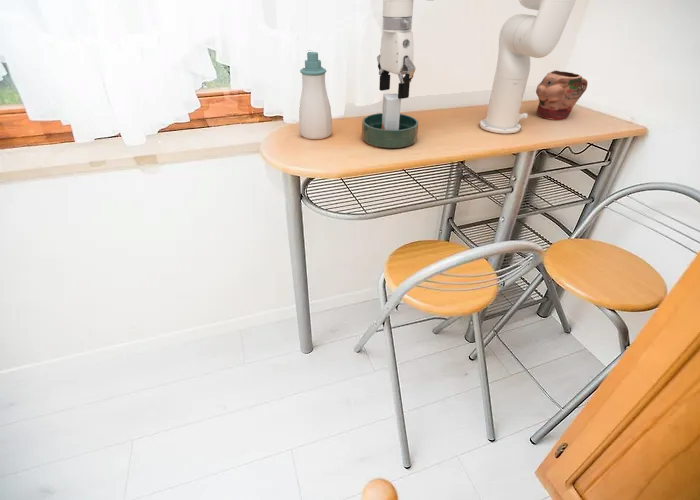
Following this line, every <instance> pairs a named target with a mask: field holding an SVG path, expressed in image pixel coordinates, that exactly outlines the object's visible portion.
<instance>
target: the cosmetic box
mask: <svg viewBox="0 0 700 500" xmlns="http://www.w3.org/2000/svg"><path fill="white" fill-rule="evenodd" d="M401 103H402V99H399V98H398V93H383V95H382V111H381V113H382V129H383V130H399V119H400V114H401V106H402V105H401Z"/></svg>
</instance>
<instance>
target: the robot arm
mask: <svg viewBox="0 0 700 500" xmlns="http://www.w3.org/2000/svg"><path fill="white" fill-rule="evenodd" d="M430 1H433V0H427V2H430ZM518 1H519V3H520V5H521V6H522V7H524V8H526V9H529V10H534V11H537V13H536V15H534V14H533V15H532V14H525V13H520V14H515V15H512V16H511V17H509V18H508V19H506V21H505V22H503V24H502V26H501V29H500V31H499V35H498V55H497V62H496V69H495V72H494V78H493V81H492V87H491V91H490V97H489V100H488V101H489V102H488V106H487V107H488V108H487V111H486V112H487V113H486V117H485V118H484V119H481V120H480V121H479V127H480V128H481V129H483V130H484V131H487V132H490V133H495V134H502V135H503V134H507V135H509V134H515V133H518V132H520V131H521V128H522V126H521V124H520V123H519V122H520V121H521V120H526V119H527V118H528V117H529V114H528V113H527V112H522V113H521V112H520V111H521V107H522V104H523V99H524V94H525V91H526V87H527V83H528V80H529V79H528V78H529V75H530V70H531V58H535V59H542V58H544V57H547V56H548V55H550V54H551V53H552V52H553V51H554V49H555V48H556V47H557V45H558V43H559V41H560V40H561V37H562V35H563V32H564V30H565V27H566V26H567V23H568V21H569V18H570V16H571V13H572V11H573V8H574V7H575V5H576V1H577V0H518ZM413 14H414V0H382V23H381V24H382V25H381V27H382V28H381V31H382V33H381V38H380V49H379V51H380V52H379V55H377V57H376V60H377V68H378V75H379V87H378V89H379V91H380V92H383V91H388V90H390V89H391V74H390V73H392V74H395V75H397V76H398V80H399V82H398V87H397V88H398V90H397V94H398V98H399V99H401V100H403V99H408V98H409V97H410V87H411V86H410V85H411V84H410V83H412V79H413V78H414V74H415V73H416V72H415V71H416V66H415V64H414V35H413V34H414V33H413V31H412V27H413Z"/></svg>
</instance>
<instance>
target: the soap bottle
mask: <svg viewBox="0 0 700 500" xmlns="http://www.w3.org/2000/svg"><path fill="white" fill-rule="evenodd" d="M304 67H305V68H304ZM304 67H302V68H301V69H299V72H300V74H301V79H302V82H301V83H302V85H301V95H300V100H299V105H300V107H299V106H298V122H299V133H300V136H302V137H303V138H305V139H308V140H324V139H327V138H329V137H330V136H331V135H332V133H333V121H332V109H331V104H330V99H329V95H328V93H327V92H328V91H327V88H326V73H327V69H326V68H324V67H323V66H322V61H321V59H319V52H316V51H312V52H308V53H307V52H306V59H305V60H304Z"/></svg>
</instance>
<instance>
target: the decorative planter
mask: <svg viewBox="0 0 700 500" xmlns="http://www.w3.org/2000/svg"><path fill="white" fill-rule="evenodd" d="M588 83H589V82H588V80H587V79H586V78H584V77H583V76H582V75H581V74H578V73H575V72H570V71H560V70H552V71H549V72H547V73H546V75H545V76H544V77H543V78H542V80H541V81H540V82H539V83H538V84H537V86H536V89H535V93H536V96H537V98H538V105H537V108H536V114H537V115H538V116H540V117H542V118H544V119H548V120H555V121H558V120H560V121H561V120H565V119H567V118H568V117H569V116H570V114H571V112H572V110H573V108H574V106H575V105H576V104H577V102H578V101H579V100H580V98H581V97H582V96H583V95H584V93H585V92H586V91H587V89H588Z"/></svg>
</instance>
